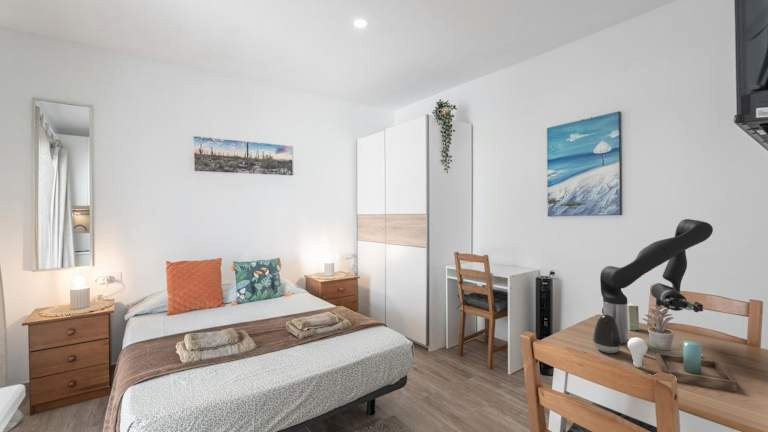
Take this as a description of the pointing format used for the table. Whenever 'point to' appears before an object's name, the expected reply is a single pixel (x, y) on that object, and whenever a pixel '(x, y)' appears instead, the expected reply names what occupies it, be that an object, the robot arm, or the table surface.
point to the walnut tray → (709, 375)
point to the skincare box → (633, 316)
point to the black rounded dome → (607, 335)
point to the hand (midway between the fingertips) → (682, 307)
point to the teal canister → (692, 357)
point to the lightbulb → (637, 350)
